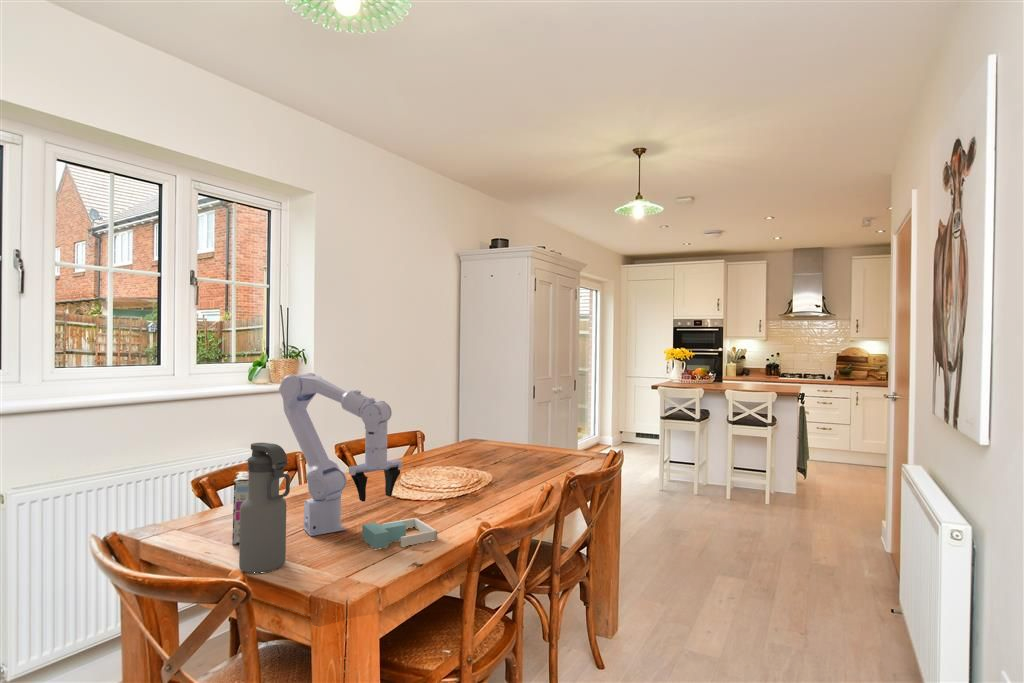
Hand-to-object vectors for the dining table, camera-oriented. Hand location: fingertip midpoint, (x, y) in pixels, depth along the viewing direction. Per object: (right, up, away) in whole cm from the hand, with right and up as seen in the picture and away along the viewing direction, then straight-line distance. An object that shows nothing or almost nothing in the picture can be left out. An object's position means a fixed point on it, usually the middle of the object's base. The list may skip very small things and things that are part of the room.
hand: (375, 498), depth 152 cm
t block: (+4, -10, -4) cm, 12 cm away
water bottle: (-21, -10, -22) cm, 32 cm away
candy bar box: (-34, -10, -3) cm, 35 cm away
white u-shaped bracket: (+9, -10, 0) cm, 14 cm away
